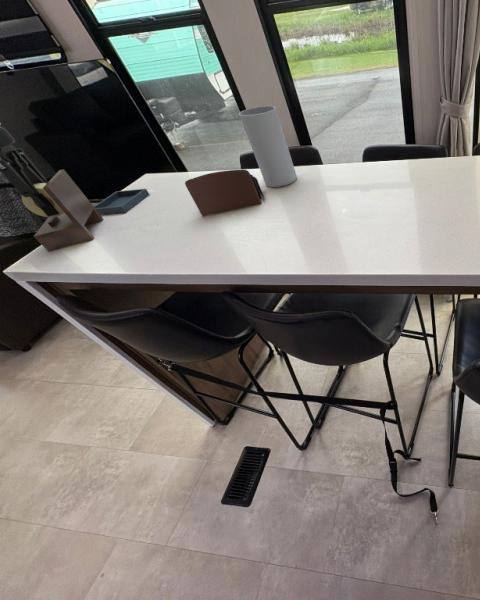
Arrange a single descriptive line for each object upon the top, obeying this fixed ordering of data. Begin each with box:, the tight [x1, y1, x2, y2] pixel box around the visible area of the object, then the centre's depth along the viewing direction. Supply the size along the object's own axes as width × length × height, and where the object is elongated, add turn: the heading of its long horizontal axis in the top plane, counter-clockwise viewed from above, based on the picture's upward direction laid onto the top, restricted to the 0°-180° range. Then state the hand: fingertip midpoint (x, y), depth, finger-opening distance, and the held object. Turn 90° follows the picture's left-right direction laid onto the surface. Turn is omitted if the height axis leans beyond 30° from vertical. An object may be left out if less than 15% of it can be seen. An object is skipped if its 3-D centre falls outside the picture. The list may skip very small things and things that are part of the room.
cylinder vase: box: [238, 105, 298, 188], centre depth 119 cm, size 12×12×25 cm
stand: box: [33, 169, 105, 252], centre depth 100 cm, size 12×16×19 cm
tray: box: [93, 188, 150, 216], centre depth 124 cm, size 16×13×2 cm
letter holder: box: [184, 169, 265, 217], centre depth 108 cm, size 10×20×14 cm, turn 106°
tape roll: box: [21, 182, 64, 218], centre depth 97 cm, size 9×5×9 cm, turn 116°
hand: (56, 211), depth 99 cm, fingers closed on tape roll, 5 cm apart
